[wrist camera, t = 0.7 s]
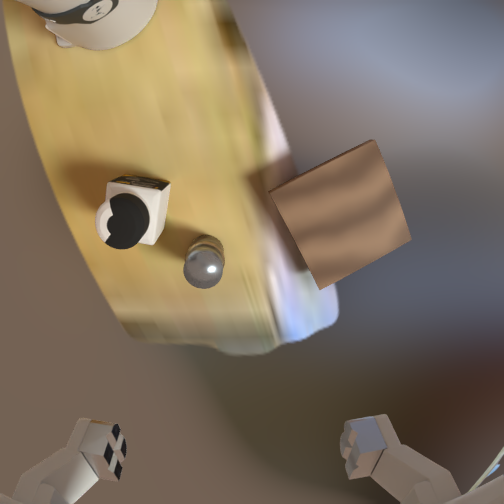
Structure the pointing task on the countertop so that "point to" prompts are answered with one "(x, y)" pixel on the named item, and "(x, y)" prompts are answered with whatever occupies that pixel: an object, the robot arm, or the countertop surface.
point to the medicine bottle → (133, 211)
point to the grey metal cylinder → (204, 262)
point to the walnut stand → (343, 213)
